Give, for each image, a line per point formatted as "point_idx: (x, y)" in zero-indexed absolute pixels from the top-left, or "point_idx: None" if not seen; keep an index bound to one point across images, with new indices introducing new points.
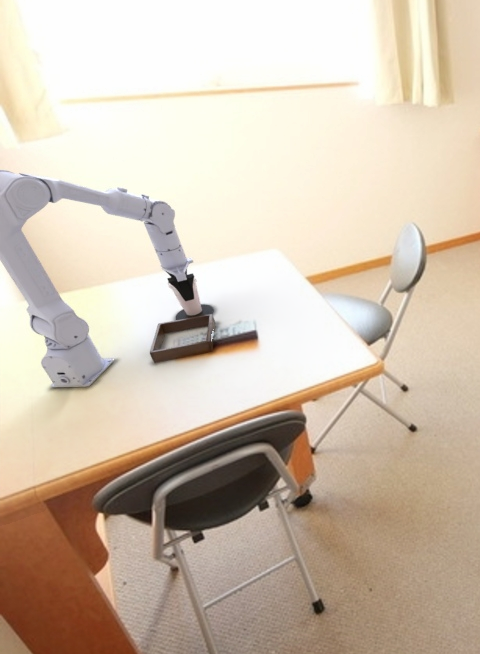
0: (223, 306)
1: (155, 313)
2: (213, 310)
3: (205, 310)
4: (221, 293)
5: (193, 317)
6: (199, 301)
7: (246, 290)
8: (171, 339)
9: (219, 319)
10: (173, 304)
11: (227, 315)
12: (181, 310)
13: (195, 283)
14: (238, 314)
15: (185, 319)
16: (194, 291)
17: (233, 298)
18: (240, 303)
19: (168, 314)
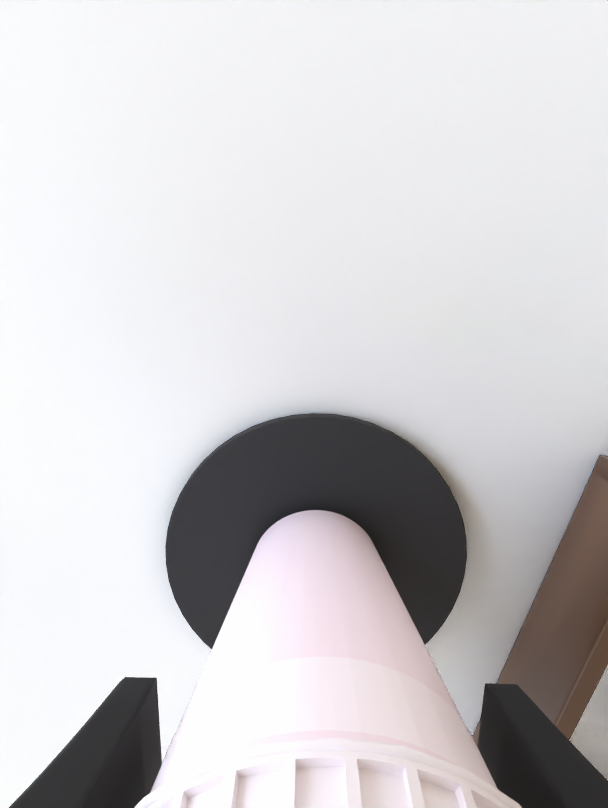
0: (327, 323)
1: None
2: (357, 419)
3: (330, 481)
4: (28, 271)
5: (597, 648)
6: (360, 562)
7: (101, 3)
8: (584, 743)
9: (550, 412)
10: (29, 652)
11: (530, 335)
12: (200, 633)
13: (413, 743)
14: (588, 242)
15: (584, 707)
16: (450, 701)
17: (215, 192)
18: (375, 159)
19: (185, 705)
